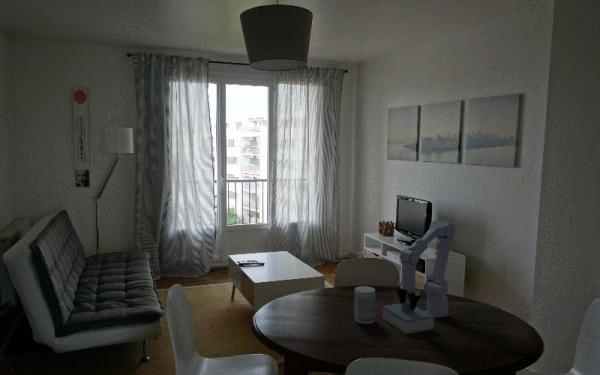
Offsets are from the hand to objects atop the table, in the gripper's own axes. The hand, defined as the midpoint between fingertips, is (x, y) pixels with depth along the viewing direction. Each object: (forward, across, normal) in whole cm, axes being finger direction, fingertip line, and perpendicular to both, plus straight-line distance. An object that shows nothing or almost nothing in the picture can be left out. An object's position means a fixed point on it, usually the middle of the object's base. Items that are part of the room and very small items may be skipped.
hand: (407, 306), depth 201 cm
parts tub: (+8, 0, 0) cm, 8 cm away
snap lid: (+3, 0, 0) cm, 3 cm away
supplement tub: (+8, -10, -16) cm, 21 cm away
